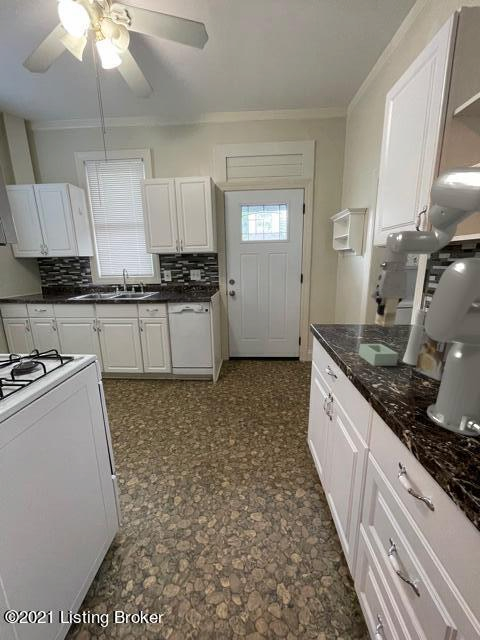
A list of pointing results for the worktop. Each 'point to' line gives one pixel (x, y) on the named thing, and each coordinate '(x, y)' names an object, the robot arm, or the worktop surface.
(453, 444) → the worktop surface
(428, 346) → the coffee box
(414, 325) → the cosmetic bottle
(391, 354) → the end cap
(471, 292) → the robot arm
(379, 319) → the beige rectangular block
